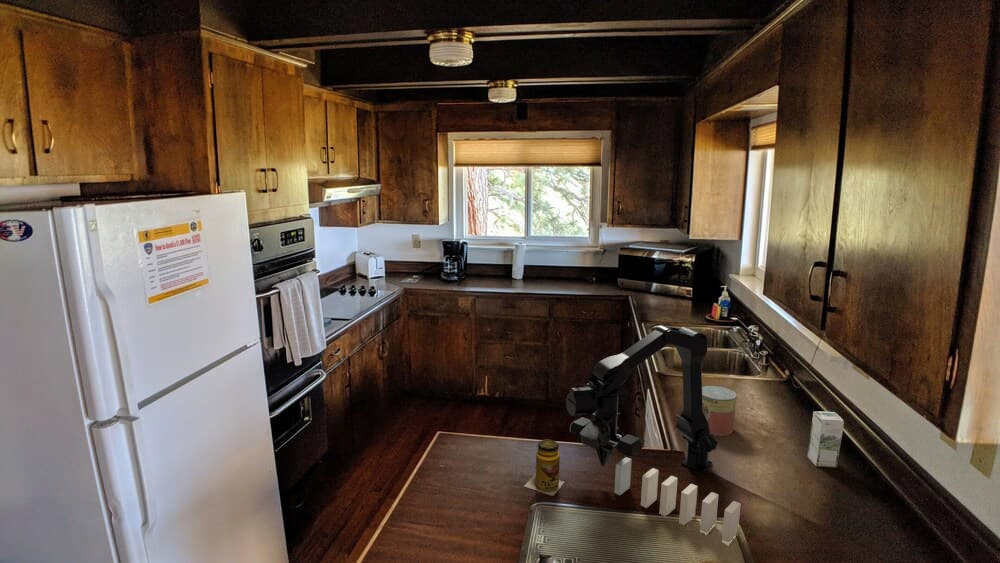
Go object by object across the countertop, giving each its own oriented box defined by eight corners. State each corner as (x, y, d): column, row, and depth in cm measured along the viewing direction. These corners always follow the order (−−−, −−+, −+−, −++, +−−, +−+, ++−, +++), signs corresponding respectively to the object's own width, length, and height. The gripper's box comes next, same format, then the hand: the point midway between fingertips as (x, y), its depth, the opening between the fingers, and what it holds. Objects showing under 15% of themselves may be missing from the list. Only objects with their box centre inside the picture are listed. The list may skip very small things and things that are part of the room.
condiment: (553, 496, 140) (554, 452, 138) (523, 486, 145) (524, 444, 142) (564, 482, 147) (566, 440, 144) (535, 473, 151) (536, 432, 148)
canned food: (688, 422, 183) (691, 387, 180) (717, 418, 186) (720, 384, 183) (710, 437, 172) (714, 401, 170) (741, 433, 175) (744, 397, 173)
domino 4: (688, 513, 134) (691, 483, 132) (694, 516, 133) (697, 486, 131) (678, 523, 130) (681, 492, 129) (685, 526, 129) (688, 494, 128)
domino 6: (730, 532, 127) (733, 500, 125) (737, 535, 126) (740, 503, 124) (721, 542, 124) (724, 510, 122) (728, 546, 122) (732, 513, 121)
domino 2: (650, 496, 141) (652, 467, 139) (656, 499, 140) (658, 470, 138) (640, 505, 137) (642, 475, 135) (646, 508, 136) (648, 478, 134)
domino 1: (624, 485, 146) (626, 457, 144) (629, 487, 145) (631, 459, 143) (614, 493, 142) (615, 464, 141) (619, 495, 141) (621, 466, 139)
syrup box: (827, 457, 161) (834, 410, 158) (837, 468, 155) (844, 420, 152) (806, 456, 161) (812, 409, 158) (816, 467, 155) (822, 418, 153)
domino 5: (708, 522, 130) (711, 491, 129) (715, 525, 129) (718, 494, 128) (699, 532, 127) (702, 500, 125) (706, 535, 126) (709, 503, 124)
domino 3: (669, 505, 137) (671, 475, 136) (675, 507, 136) (677, 478, 135) (659, 513, 134) (661, 483, 132) (665, 516, 133) (667, 486, 131)
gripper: (558, 408, 144) (556, 464, 147) (621, 432, 131) (617, 492, 134) (583, 396, 152) (581, 449, 155) (645, 417, 139) (641, 474, 142)
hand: (603, 465), depth 146 cm, fingers closed
